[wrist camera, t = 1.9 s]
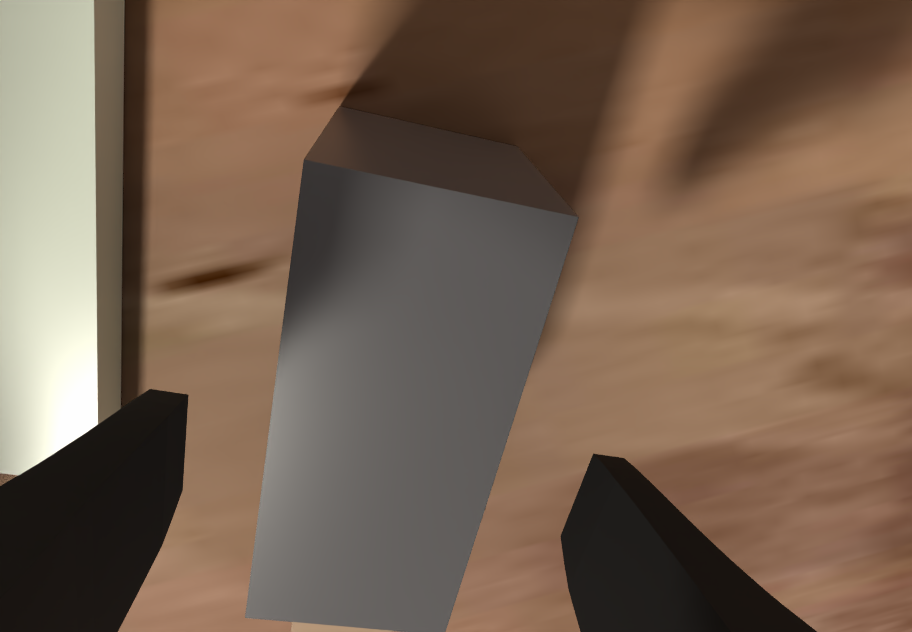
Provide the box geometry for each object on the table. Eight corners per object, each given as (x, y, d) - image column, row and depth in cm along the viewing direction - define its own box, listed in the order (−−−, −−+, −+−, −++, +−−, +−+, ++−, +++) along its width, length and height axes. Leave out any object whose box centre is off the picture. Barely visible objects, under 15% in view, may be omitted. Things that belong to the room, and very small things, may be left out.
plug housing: (413, 535, 21) (417, 717, 15) (278, 520, 20) (233, 705, 15) (517, 146, 16) (578, 217, 10) (339, 106, 15) (304, 158, 9)
